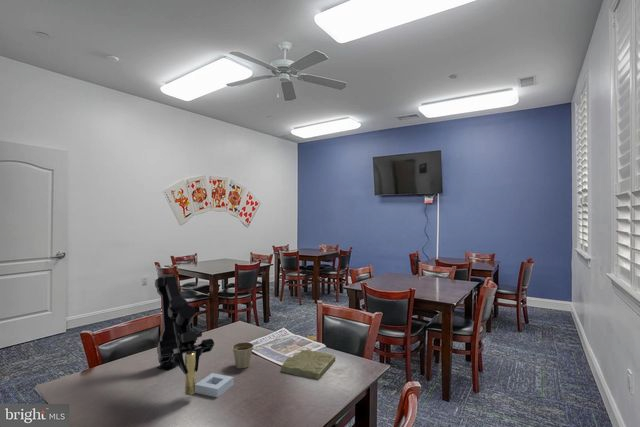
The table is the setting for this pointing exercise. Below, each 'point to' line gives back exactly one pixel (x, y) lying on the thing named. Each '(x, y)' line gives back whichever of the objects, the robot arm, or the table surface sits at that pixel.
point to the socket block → (214, 385)
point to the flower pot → (242, 354)
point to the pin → (190, 372)
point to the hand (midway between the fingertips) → (191, 372)
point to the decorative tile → (308, 364)
